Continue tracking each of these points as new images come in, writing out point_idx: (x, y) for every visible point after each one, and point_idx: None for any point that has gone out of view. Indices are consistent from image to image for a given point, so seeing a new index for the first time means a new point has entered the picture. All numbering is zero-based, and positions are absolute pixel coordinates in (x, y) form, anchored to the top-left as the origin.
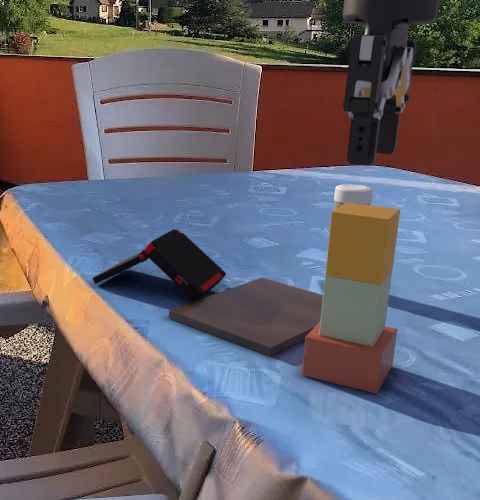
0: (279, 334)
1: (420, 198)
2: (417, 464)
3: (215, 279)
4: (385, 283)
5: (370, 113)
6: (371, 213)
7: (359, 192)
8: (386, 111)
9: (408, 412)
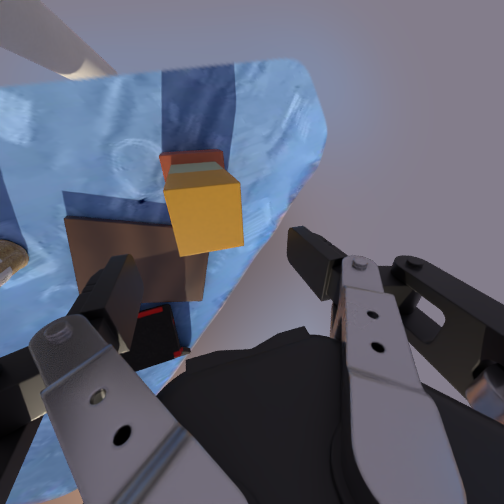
0: None
1: None
2: (288, 99)
3: None
4: (199, 170)
5: (383, 267)
6: (221, 210)
7: None
8: (111, 337)
9: (229, 120)
